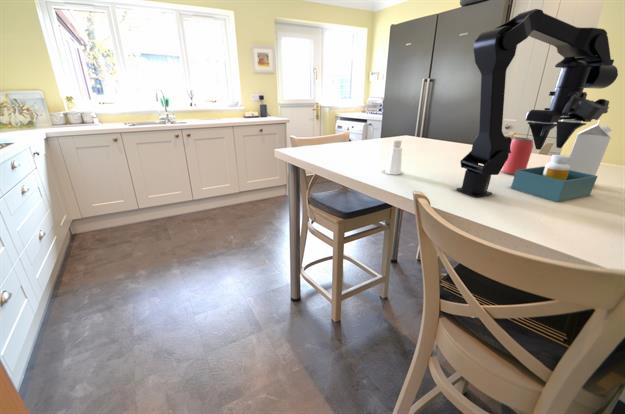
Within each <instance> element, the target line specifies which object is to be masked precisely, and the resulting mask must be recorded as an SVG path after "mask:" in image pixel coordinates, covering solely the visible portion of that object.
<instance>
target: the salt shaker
mask: <svg viewBox="0 0 625 414" xmlns="http://www.w3.org/2000/svg"><path fill="white" fill-rule="evenodd" d="M401 146H402V140H401V139H393V140H392V146H391V147H390V149H389V155H388V159H387V163H386V167H385V171H384V172H385V174H388V175H393V176H397V175H401V173H402V159H403V158H402V156H403V155H402V153H403V148H402V147H401Z"/></svg>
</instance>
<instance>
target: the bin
mask: <svg viewBox="0 0 625 414" xmlns="http://www.w3.org/2000/svg"><path fill="white" fill-rule="evenodd" d="M545 166H546V165H543V166H536V167H529V168H528V167H527V168H526V169H520V170H516V172H515V175H513V179H512V182H511V185H510V189H513V190H516V191H519V192H523V193H526V194H529V195H533V196H536V197H540V198H543V199H545V200H549V201H553V202H557V203H559V202H563V201H569V200H572V199H573V200H574V199H578V198H583V197H588V196H591V193H592V192H593V191H592V190H593V188H594V187H595V184H596V181H597V178H598V175H590V174H586V173H581V172H576V171H571V170H570V171H569V174H568V176H567V179H566V181H562V180H558V179H554V178H550V177H546V176H542V175H543V172H544V169H545Z"/></svg>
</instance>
